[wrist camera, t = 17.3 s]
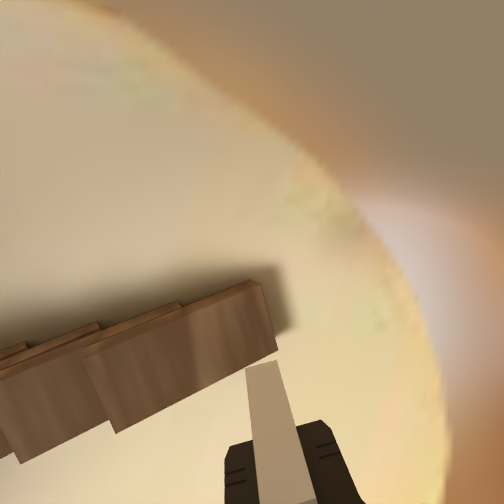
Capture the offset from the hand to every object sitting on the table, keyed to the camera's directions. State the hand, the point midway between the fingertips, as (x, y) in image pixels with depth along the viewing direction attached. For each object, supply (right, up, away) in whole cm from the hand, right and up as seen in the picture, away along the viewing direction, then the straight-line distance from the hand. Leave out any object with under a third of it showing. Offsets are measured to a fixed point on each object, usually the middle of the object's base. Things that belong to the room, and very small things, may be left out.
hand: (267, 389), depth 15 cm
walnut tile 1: (0, +2, +7) cm, 8 cm away
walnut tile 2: (-5, +1, +7) cm, 9 cm away
